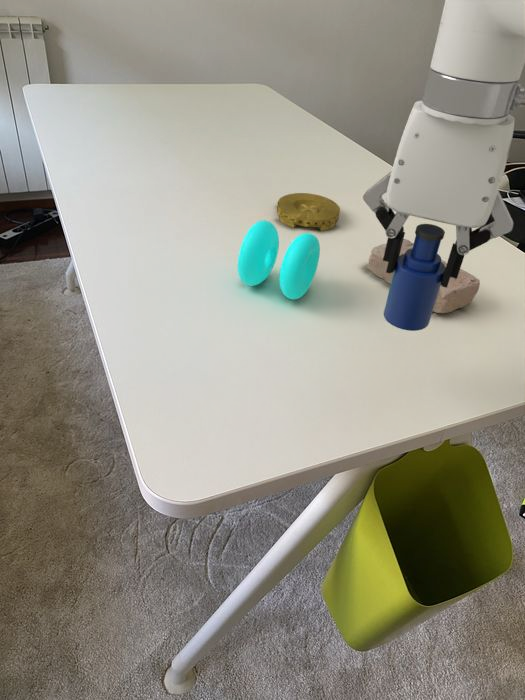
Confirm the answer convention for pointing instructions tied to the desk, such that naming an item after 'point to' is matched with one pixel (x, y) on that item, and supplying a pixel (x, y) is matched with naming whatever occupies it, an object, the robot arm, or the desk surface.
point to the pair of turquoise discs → (263, 252)
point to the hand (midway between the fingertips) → (418, 273)
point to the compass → (308, 211)
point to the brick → (448, 298)
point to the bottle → (416, 281)
